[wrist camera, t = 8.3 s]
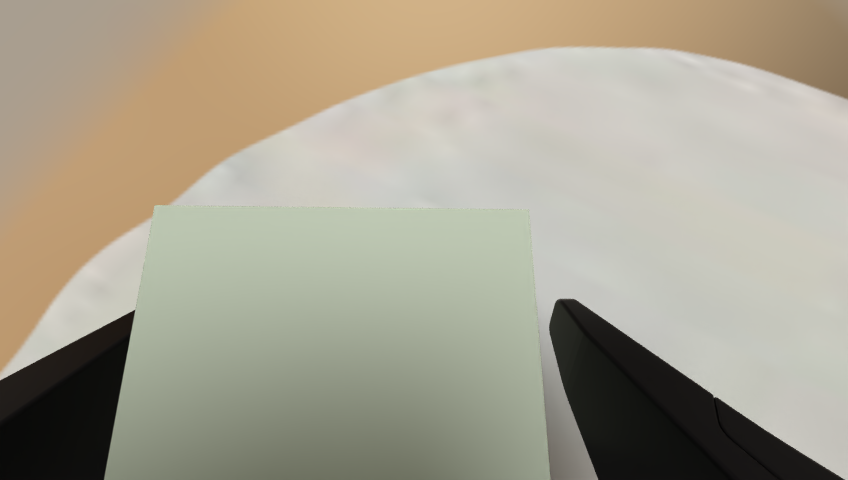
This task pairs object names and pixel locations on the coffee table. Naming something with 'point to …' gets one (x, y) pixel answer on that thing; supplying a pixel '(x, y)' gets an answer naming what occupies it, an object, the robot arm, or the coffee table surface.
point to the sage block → (333, 347)
